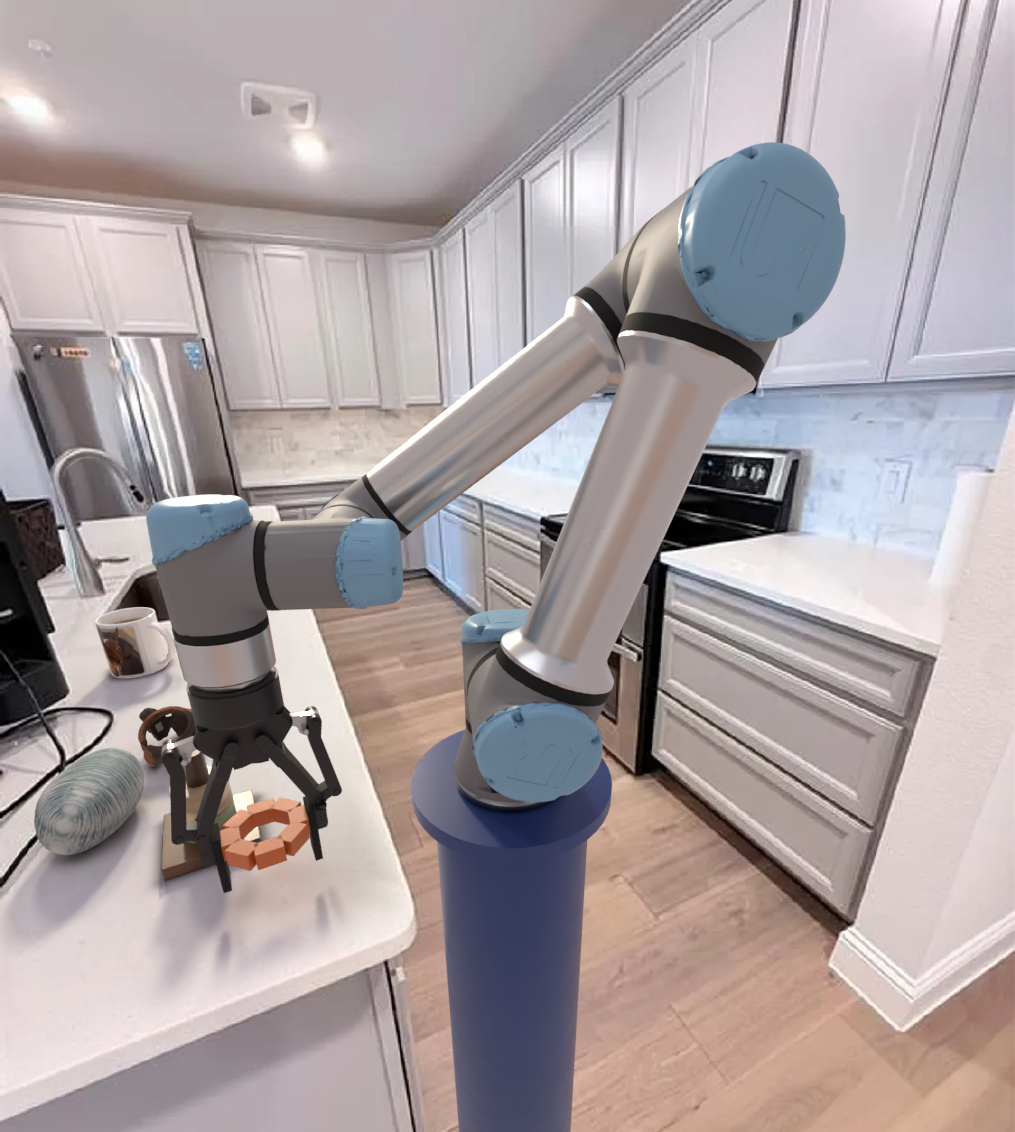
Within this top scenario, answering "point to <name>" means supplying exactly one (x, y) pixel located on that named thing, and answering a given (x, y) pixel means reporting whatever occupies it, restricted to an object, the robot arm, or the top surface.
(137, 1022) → the top surface
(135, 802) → the streaked grey ellipsoid
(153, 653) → the mug
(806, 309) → the robot arm
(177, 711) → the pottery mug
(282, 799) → the terracotta ring
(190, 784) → the stacking post
